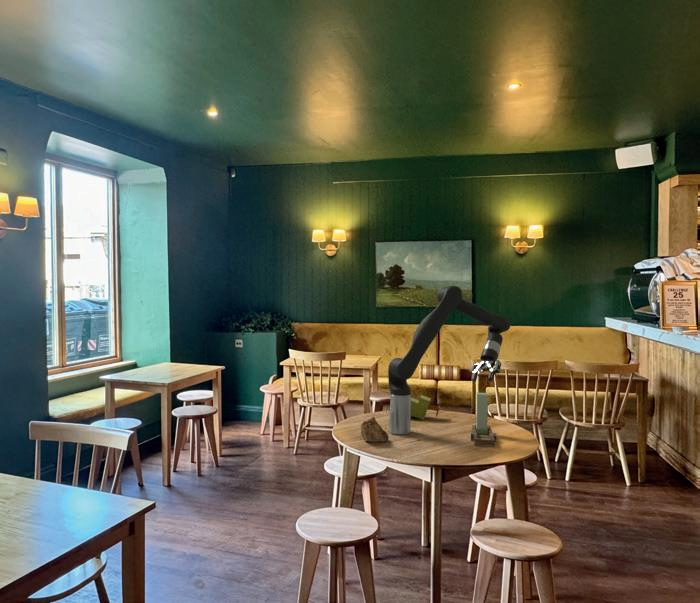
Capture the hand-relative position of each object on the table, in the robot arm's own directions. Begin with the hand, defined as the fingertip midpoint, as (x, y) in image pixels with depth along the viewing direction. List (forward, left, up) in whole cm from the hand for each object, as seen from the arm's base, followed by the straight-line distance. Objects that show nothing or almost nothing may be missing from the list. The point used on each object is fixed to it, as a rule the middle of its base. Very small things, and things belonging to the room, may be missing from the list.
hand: (481, 380), depth 230 cm
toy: (-23, +28, -24) cm, 43 cm away
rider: (-1, -4, -23) cm, 24 cm away
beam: (-3, -11, -23) cm, 26 cm away
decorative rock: (-51, -14, -24) cm, 58 cm away
